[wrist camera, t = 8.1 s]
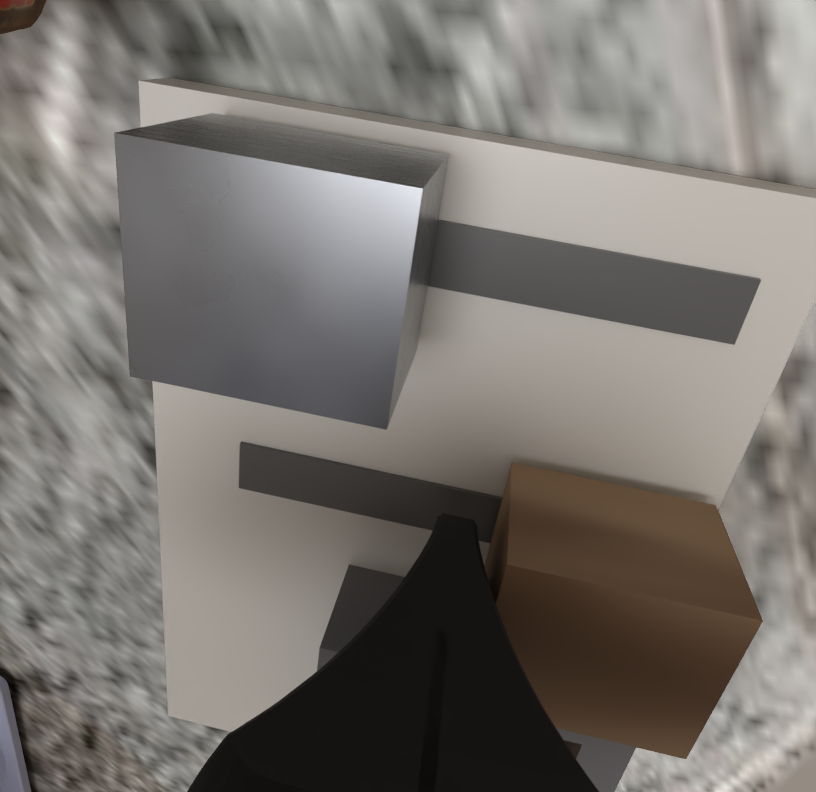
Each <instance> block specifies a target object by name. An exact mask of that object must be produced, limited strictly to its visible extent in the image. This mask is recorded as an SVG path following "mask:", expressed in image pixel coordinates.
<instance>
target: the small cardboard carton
mask: <svg viewBox="0 0 816 792" xmlns="http://www.w3.org/2000/svg"><path fill="white" fill-rule="evenodd" d="M484 567H485V571H486V574H487V578H488V581H489V585H490V588H491V591H492V594H493V597H494V600H495V603H496V606H497V609H498V612H499V614H500V617H501V620H502V622H503V625H504V627H505V630H506V632H507V635H508V637H509V640H510V642H511V644H512V647H513V649H514V651H515V653H516V656H517V658H518V660H519V662H520V664H521V666H522V668H523V670H524V672H525V674H526V676H527V678H528V680H529V682H530V684H531V686H532V688H533V690H534V691H535V693H536V695H537V697H538V699H539V701H540V702H541V704H542V706H543V708H544V710H545V711H546V713H547V715H548V716H549V718H550V719H551V721H552V722H553V724H554V726H555V727H556V728H558V729H562V730H566V731H570V732H575V733H579V734H583V735H587V736H591V737H596V738H600V739H604V740H608V741H612V742H617V743H621V744H625V745H629V746H633V747H638V748H642V749H646V750H650V751H654V752H659V753H663V754H667V755H671V756H675V757H679V758H684V759H686V758H687V756H688V755H689V753H690V751H691V749H692V747H693V746H694V744H695V742H696V740H697V738H698V737H699V735H700V733H701V731H702V729H703V728H704V726H705V724H706V722H707V720H708V719H709V717H710V715H711V713H712V711H713V710H714V708H715V706H716V704H717V702H718V701H719V699H720V697H721V695H722V693H723V692H724V690H725V688H726V686H727V684H728V683H729V681H730V679H731V677H732V675H733V674H734V672H735V670H736V668H737V666H738V665H739V663H740V661H741V659H742V657H743V656H744V654H745V652H746V650H747V648H748V647H749V645H750V643H751V641H752V639H753V638H754V636H755V634H756V632H757V631H758V629H759V627H760V625H761V623H762V622H763V620H762V618H761V615H760V613H759V611H758V608H757V606H756V603H755V601H754V598H753V596H752V593H751V591H750V588H749V586H748V583H747V581H746V578H745V576H744V574H743V571H742V569H741V566H740V564H739V561H738V559H737V556H736V554H735V551H734V549H733V546H732V544H731V542H730V539H729V537H728V534H727V532H726V529H725V527H724V524H723V522H722V519H721V517H720V514H719V512H718V510H717V507H716V505H713V504H708V503H703V502H699V501H694V500H689V499H684V498H680V497H675V496H670V495H665V494H661V493H656V492H651V491H646V490H641V489H637V488H632V487H627V486H622V485H618V484H613V483H608V482H603V481H599V480H594V479H589V478H584V477H579V476H575V475H570V474H565V473H560V472H556V471H551V470H546V469H541V468H537V467H532V466H527V465H522V464H517V463H513V462H512V463H511V467H510V471H509V475H508V478H507V482H506V486H505V490H504V494H503V497H502V501H501V505H500V509H499V513H498V517H497V520H496V524H495V528H494V532H493V536H492V539H491V543H490V547H489V551H488V555H487V559H486V562H485V566H484Z"/></svg>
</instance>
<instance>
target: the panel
mask: <svg viewBox="0 0 816 792" xmlns="http://www.w3.org/2000/svg"><path fill="white" fill-rule="evenodd" d="M139 98H140V119H141V127H146V126H151V125H156V124H161V123H165V122H170V121H175V120H180V119H185V118H190V117H195V116H200V115H205V114H210V113H216V114H222V115H227V116H233V117H239V118H244V119H250V120H256V121H261V122H267V123H273V124H278V125H284V126H290V127H295V128H301V129H307V130H312V131H318V132H324V133H329V134H335V135H341V136H346V137H352V138H358V139H363V140H369V141H375V142H380V143H386V144H392V145H398V146H403V147H409V148H415V149H420V150H426V151H432V152H437V153H443V154H449V157H448V164H447V170H446V176H445V182H444V188H443V194H442V200H441V206H440V212H439V218H438V225H437V231H436V237H435V243H434V249H433V255H432V261H431V267H430V273H429V280H428V286H427V292H426V298H425V304H424V310H423V316H422V322H421V328H420V334H419V341H418V347H417V351H416V354H415V356H414V359H413V362H412V364H411V367H410V370H409V372H408V375H407V378H406V380H405V383H404V386H403V388H402V391H401V394H400V396H399V399H398V401H397V404H396V407H395V409H394V412H393V415H392V417H391V420H390V423H389V425H388V428H387V430H385V429H380V428H375V427H371V426H366V425H361V424H356V423H352V422H347V421H342V420H337V419H332V418H328V417H323V416H318V415H313V414H308V413H304V412H299V411H294V410H289V409H285V408H280V407H275V406H270V405H265V404H261V403H256V402H251V401H246V400H242V399H237V398H232V397H227V396H222V395H218V394H213V393H208V392H203V391H198V390H194V389H189V388H184V387H179V386H175V385H170V384H165V383H160V382H155V381H153V401H154V423H155V444H156V466H157V488H158V510H159V531H160V553H161V575H162V596H163V618H164V640H165V661H166V683H167V705H168V716H170V717H174V718H178V719H182V720H186V721H190V722H194V723H198V724H202V725H206V726H210V727H214V728H218V729H222V730H226V731H230V732H232V731H234V730H236V729H237V728H239V727H240V726H242V725H243V724H245V723H246V722H248V721H249V720H251V719H253V718H254V717H256V716H257V715H259V714H260V713H262V712H263V711H265V710H266V709H268V708H270V707H271V706H272V705H274V704H275V703H277V702H278V701H279V700H281V699H282V698H283V697H285V696H286V695H287V694H289V693H290V692H291V691H293V690H294V689H295V688H296V687H298V686H299V685H300V684H302V683H303V682H304V681H305V680H307V679H308V678H309V677H311V676H312V675H313V674H314V673H316V672H317V671H318V670H319V669H320V668H321V667H323V666H324V665H325V664H326V663H327V662H328V661H330V660H331V659H332V658H333V657H334V656H335V655H336V654H337V653H338V652H339V651H340V650H341V649H342V648H343V647H344V646H346V645H347V644H348V643H349V642H350V641H351V640H352V639H353V638H354V637H355V636H356V635H357V634H358V633H359V632H360V631H361V630H362V628H363V627H364V626H365V625H366V624H367V623H368V622H369V621H370V620H371V619H372V618H373V617H374V615H375V614H376V613H377V612H378V611H379V610H380V608H381V607H382V606H383V605H384V604H385V602H386V601H387V600H388V599H389V597H390V596H391V595H392V593H393V592H394V591H395V590H396V588H397V587H398V586H399V585H400V583H401V582H402V581H403V579H404V578H405V576H406V575H407V573H408V572H409V570H410V569H411V567H412V566H413V564H414V563H415V561H416V560H417V558H418V557H419V555H420V554H421V552H422V550H423V548H424V547H425V545H426V543H427V541H428V540H429V538H430V536H431V533H432V531H433V529H434V526H435V524H436V520H437V517H438V516H440V515H442V513H445V514H449V515H454V516H459V517H463V518H468V519H472V520H475V523H476V525H477V531H478V539H479V545H480V550H481V555H482V559H483V563H484V566H485V562H486V559H487V555H488V551H489V547H490V543H491V539H492V536H493V532H494V528H495V524H496V520H497V517H498V513H499V509H500V505H501V501H502V497H503V494H504V490H505V486H506V482H507V478H508V475H509V471H510V467H511V463H512V462H513V463H517V464H522V465H527V466H532V467H537V468H541V469H546V470H551V471H556V472H560V473H565V474H570V475H575V476H579V477H584V478H589V479H594V480H599V481H603V482H608V483H613V484H618V485H622V486H627V487H632V488H637V489H641V490H646V491H651V492H656V493H661V494H665V495H670V496H675V497H680V498H684V499H689V500H694V501H699V502H703V503H708V504H713V505H716V507H717V510H719V508H720V506H721V504H722V501H723V499H724V497H725V495H726V493H727V491H728V488H729V486H730V484H731V482H732V480H733V478H734V475H735V473H736V471H737V469H738V467H739V464H740V462H741V460H742V458H743V456H744V454H745V451H746V449H747V447H748V445H749V443H750V441H751V438H752V436H753V434H754V432H755V430H756V428H757V425H758V423H759V421H760V419H761V417H762V414H763V412H764V410H765V408H766V406H767V404H768V401H769V399H770V397H771V395H772V393H773V391H774V388H775V386H776V384H777V382H778V380H779V378H780V375H781V373H782V371H783V369H784V367H785V365H786V362H787V360H788V358H789V356H790V354H791V351H792V349H793V347H794V345H795V343H796V341H797V338H798V336H799V334H800V332H801V330H802V328H803V325H804V323H805V321H806V319H807V317H808V315H809V312H810V310H811V308H812V306H813V304H814V301H815V299H816V189H811V188H805V187H800V186H794V185H788V184H782V183H776V182H771V181H765V180H759V179H753V178H747V177H742V176H736V175H730V174H724V173H719V172H713V171H707V170H701V169H695V168H690V167H684V166H678V165H672V164H667V163H661V162H655V161H649V160H643V159H638V158H632V157H626V156H620V155H615V154H609V153H603V152H597V151H591V150H586V149H580V148H574V147H568V146H562V145H557V144H551V143H545V142H539V141H534V140H528V139H522V138H516V137H510V136H505V135H499V134H493V133H487V132H482V131H476V130H470V129H464V128H458V127H453V126H447V125H441V124H435V123H429V122H424V121H418V120H412V119H406V118H401V117H395V116H389V115H383V114H377V113H372V112H366V111H360V110H354V109H349V108H343V107H337V106H331V105H325V104H320V103H314V102H308V101H302V100H296V99H291V98H285V97H279V96H273V95H268V94H262V93H256V92H250V91H244V90H239V89H233V88H227V87H221V86H216V85H210V84H204V83H198V82H192V81H187V80H181V79H175V78H164V79H152V80H140V81H139ZM556 729H557V730H558V732H559V734H560V735H561V737H562V738H563V740H564V742H565V743H566V745H567V746H568V748H569V749H570V751H571V753H572V754H573V756H574V757H575V759H576V760H577V761H578V763H579V764H580V766H581V767H582V768H583V770H584V771H585V773H586V774H587V776H588V777H589V778H590V780H591V781H592V783H593V784H594V785H595V787H596V788H597V789H598V791H599V792H614V791H615V789H616V787H617V785H618V783H619V781H620V779H621V777H622V775H623V773H624V771H625V769H626V767H627V765H628V763H629V761H630V759H631V757H632V755H633V753H634V750H635V748H636V747H633V746H629V745H625V744H621V743H617V742H612V741H608V740H604V739H600V738H596V737H591V736H587V735H583V734H579V733H575V732H570V731H566V730H562V729H558V728H556Z"/></svg>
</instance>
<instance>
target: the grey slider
mask: <svg viewBox="0 0 816 792" xmlns="http://www.w3.org/2000/svg"><path fill="white" fill-rule="evenodd" d="M114 135H115V151H116V167H117V182H118V198H119V213H120V229H121V244H122V260H123V276H124V291H125V307H126V322H127V338H128V354H129V369H130V376H131V377H136V378H141V379H146V380H151V381H155V382H160V383H165V384H170V385H175V386H179V387H184V388H189V389H194V390H198V391H203V392H208V393H213V394H218V395H222V396H227V397H232V398H237V399H242V400H246V401H251V402H256V403H261V404H265V405H270V406H275V407H280V408H285V409H289V410H294V411H299V412H304V413H308V414H313V415H318V416H323V417H328V418H332V419H337V420H342V421H347V422H352V423H356V424H361V425H366V426H371V427H375V428H380V429H385V430H387V428H388V425H389V423H390V420H391V417H392V415H393V412H394V409H395V407H396V404H397V401H398V399H399V396H400V394H401V391H402V388H403V386H404V383H405V380H406V378H407V375H408V372H409V370H410V367H411V364H412V362H413V359H414V356H415V354H416V351H417V347H418V341H419V334H420V328H421V322H422V316H423V310H424V304H425V298H426V292H427V286H428V280H429V273H430V267H431V261H432V255H433V249H434V243H435V237H436V231H437V225H438V218H439V212H440V206H441V200H442V194H443V188H444V182H445V176H446V170H447V164H448V157H449V154H443V153H437V152H432V151H426V150H420V149H415V148H409V147H403V146H398V145H392V144H386V143H380V142H375V141H369V140H363V139H358V138H352V137H346V136H341V135H335V134H329V133H324V132H318V131H312V130H307V129H301V128H295V127H290V126H284V125H278V124H273V123H267V122H261V121H256V120H250V119H244V118H239V117H233V116H227V115H222V114H216V113H210V114H205V115H200V116H195V117H190V118H185V119H180V120H175V121H170V122H165V123H161V124H156V125H151V126H146V127H141V128H136V129H131V130H126V131H121V132H116V133H114Z"/></svg>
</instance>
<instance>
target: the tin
mask: <svg viewBox="0 0 816 792" xmlns="http://www.w3.org/2000/svg"><path fill="white" fill-rule="evenodd" d="M45 2H46V0H0V34H3V33H8V32H11V31H15V30H19V29H25V28H28V27H31V26H32V25H33V24H34V23H35V22H36V21H37V19H38V17H39V16H40V14H41V12H42V10H43V7H44V5H45Z"/></svg>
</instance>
